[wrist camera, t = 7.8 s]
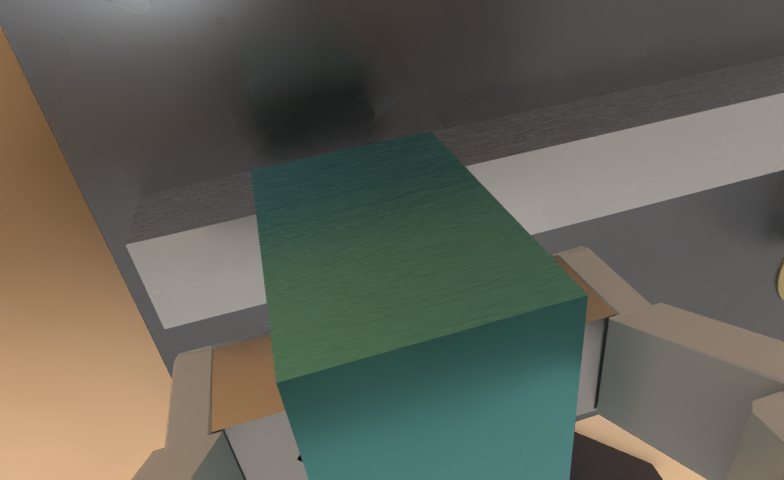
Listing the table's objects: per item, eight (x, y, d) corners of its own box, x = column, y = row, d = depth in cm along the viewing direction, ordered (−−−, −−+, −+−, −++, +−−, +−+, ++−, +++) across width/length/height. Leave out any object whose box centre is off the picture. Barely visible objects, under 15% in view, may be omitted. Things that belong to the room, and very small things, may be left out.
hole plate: (1073, -178, 14) (1516, -224, 9) (859, 296, 23) (1032, 400, 18) (14, -16, 10) (-177, 52, 5) (242, 487, 19) (250, 689, 14)
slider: (401, 100, 11) (588, 295, 6) (433, 395, 16) (551, 660, 10) (246, 132, 11) (276, 382, 5) (328, 427, 16) (390, 723, 10)
